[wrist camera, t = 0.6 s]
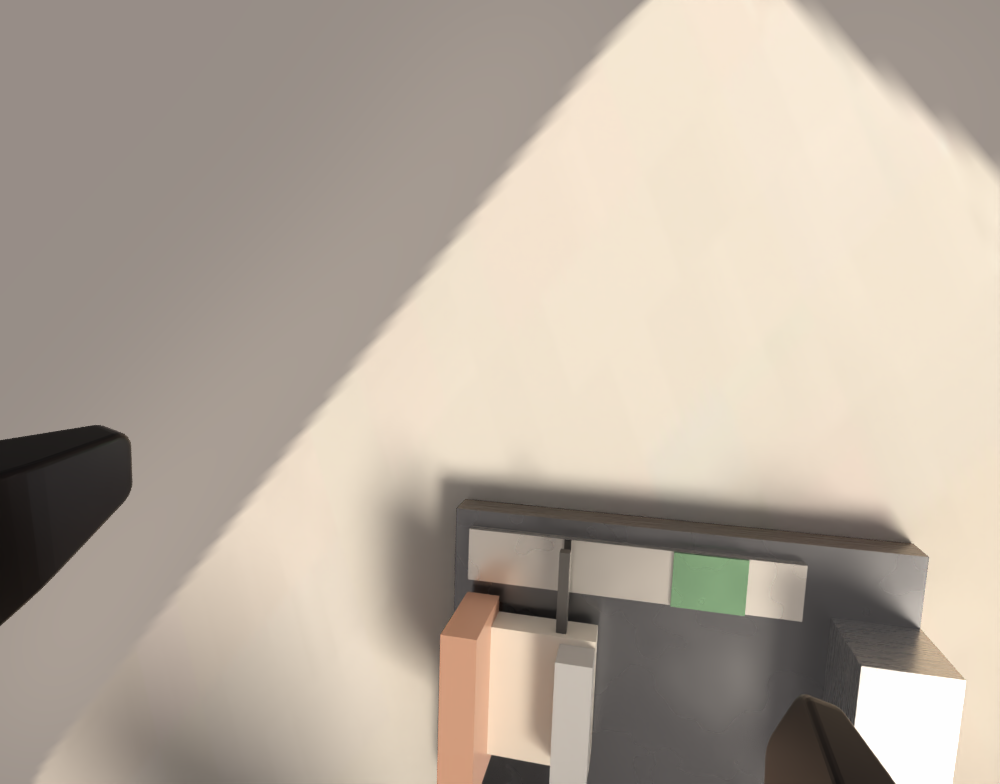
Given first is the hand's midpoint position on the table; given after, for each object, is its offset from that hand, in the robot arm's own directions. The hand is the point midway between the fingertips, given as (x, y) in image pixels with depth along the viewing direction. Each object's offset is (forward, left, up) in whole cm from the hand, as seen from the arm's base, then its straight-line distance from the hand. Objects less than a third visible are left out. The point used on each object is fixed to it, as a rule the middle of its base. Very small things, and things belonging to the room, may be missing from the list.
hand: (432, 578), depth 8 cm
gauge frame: (-8, -4, -12) cm, 15 cm away
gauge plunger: (-7, 0, -11) cm, 13 cm away
